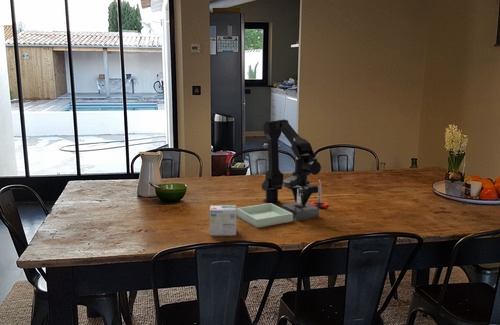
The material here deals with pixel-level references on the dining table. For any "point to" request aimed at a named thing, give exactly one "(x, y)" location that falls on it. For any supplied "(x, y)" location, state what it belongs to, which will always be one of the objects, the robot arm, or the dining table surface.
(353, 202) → the dining table surface
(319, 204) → the tow hook
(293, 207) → the hitch block
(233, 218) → the light bulb box
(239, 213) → the tray
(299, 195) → the pin
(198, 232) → the dining table surface
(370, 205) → the dining table surface
